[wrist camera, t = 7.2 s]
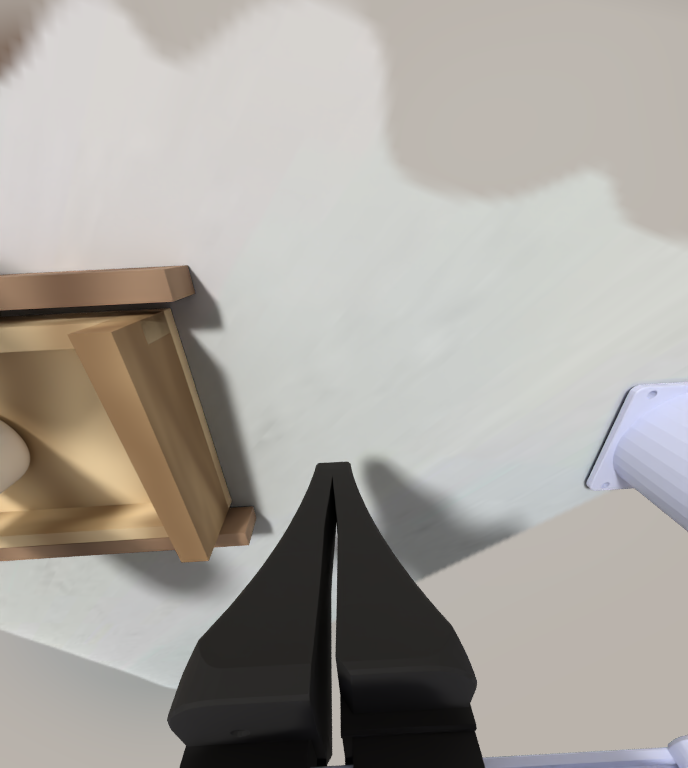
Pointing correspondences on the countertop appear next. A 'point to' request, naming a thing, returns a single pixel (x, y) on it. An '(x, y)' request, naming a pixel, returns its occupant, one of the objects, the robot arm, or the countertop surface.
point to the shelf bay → (109, 291)
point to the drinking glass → (12, 456)
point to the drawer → (107, 434)
